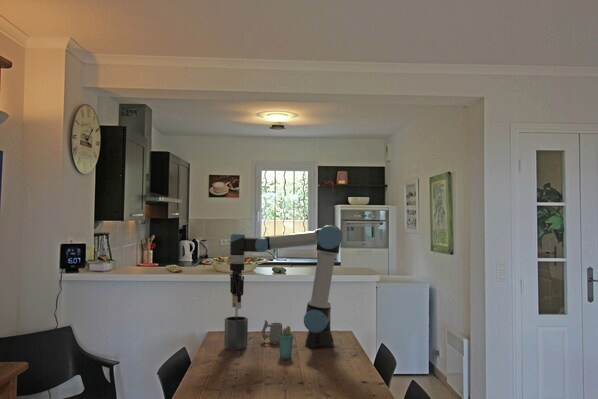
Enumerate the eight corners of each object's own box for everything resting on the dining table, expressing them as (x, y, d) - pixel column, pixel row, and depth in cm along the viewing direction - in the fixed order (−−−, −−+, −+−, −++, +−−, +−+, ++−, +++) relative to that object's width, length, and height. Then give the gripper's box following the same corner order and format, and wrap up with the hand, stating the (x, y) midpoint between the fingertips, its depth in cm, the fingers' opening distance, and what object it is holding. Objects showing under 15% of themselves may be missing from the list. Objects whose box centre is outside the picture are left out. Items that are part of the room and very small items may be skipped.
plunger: (244, 329, 242) (244, 295, 242) (232, 330, 238) (233, 296, 239) (239, 327, 247) (239, 294, 248) (228, 328, 244) (228, 295, 245)
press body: (250, 348, 240) (250, 319, 241) (229, 351, 235) (230, 321, 235) (238, 342, 253) (239, 314, 254) (219, 344, 247) (219, 316, 248)
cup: (291, 362, 218) (291, 329, 219) (275, 361, 219) (275, 329, 219) (294, 353, 232) (295, 323, 233) (279, 353, 233) (279, 322, 233)
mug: (284, 343, 251) (284, 321, 252) (262, 344, 250) (262, 321, 250) (282, 340, 259) (282, 318, 260) (261, 340, 257) (261, 318, 258)
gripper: (224, 261, 250) (223, 305, 249) (237, 264, 235) (236, 311, 234) (237, 261, 254) (236, 304, 253) (250, 263, 239) (249, 309, 238)
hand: (236, 307), depth 243 cm, fingers open, 4 cm apart
